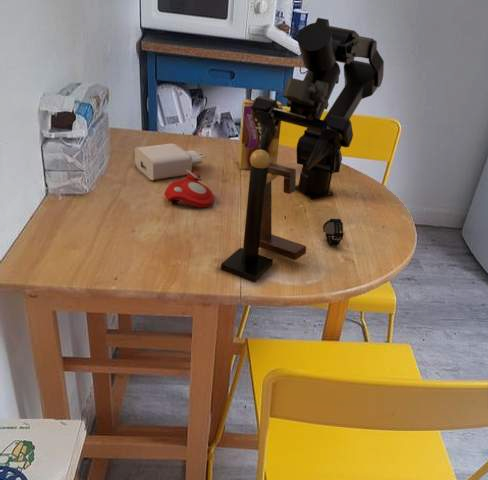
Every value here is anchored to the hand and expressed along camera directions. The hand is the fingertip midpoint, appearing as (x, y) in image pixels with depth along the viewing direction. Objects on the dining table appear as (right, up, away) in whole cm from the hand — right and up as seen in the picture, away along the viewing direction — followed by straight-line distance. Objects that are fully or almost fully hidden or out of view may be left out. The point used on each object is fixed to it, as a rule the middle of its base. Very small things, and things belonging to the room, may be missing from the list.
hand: (283, 162), depth 90 cm
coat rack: (-5, -18, -5) cm, 19 cm away
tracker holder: (-19, -4, +14) cm, 23 cm away
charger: (-24, +4, +24) cm, 34 cm away
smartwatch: (+9, -15, +4) cm, 17 cm away
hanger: (-1, -16, -4) cm, 16 cm away
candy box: (-6, +6, +31) cm, 32 cm away
